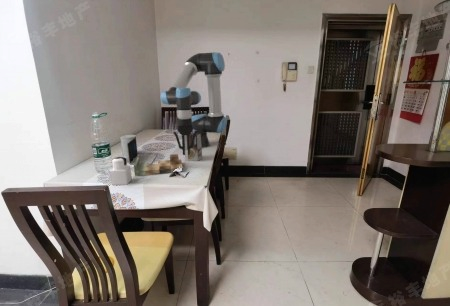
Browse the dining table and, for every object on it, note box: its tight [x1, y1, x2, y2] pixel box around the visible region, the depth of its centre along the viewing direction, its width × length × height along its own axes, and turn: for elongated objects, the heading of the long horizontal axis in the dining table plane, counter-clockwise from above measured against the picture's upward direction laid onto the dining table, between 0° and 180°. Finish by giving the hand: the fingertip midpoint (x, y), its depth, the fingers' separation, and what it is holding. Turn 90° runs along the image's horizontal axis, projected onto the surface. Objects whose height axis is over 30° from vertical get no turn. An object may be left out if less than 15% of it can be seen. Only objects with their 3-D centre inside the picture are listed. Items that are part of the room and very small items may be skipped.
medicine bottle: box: [109, 156, 132, 186], centre depth 111 cm, size 7×7×12 cm
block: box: [169, 153, 179, 165], centre depth 131 cm, size 4×4×4 cm
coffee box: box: [184, 133, 203, 162], centre depth 145 cm, size 9×6×16 cm
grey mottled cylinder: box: [119, 134, 139, 157], centre depth 156 cm, size 10×10×12 cm
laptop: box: [127, 136, 157, 166], centre depth 144 cm, size 18×12×13 cm
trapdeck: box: [133, 157, 184, 177], centre depth 129 cm, size 24×15×6 cm, turn 103°
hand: (186, 160), depth 131 cm, fingers closed
